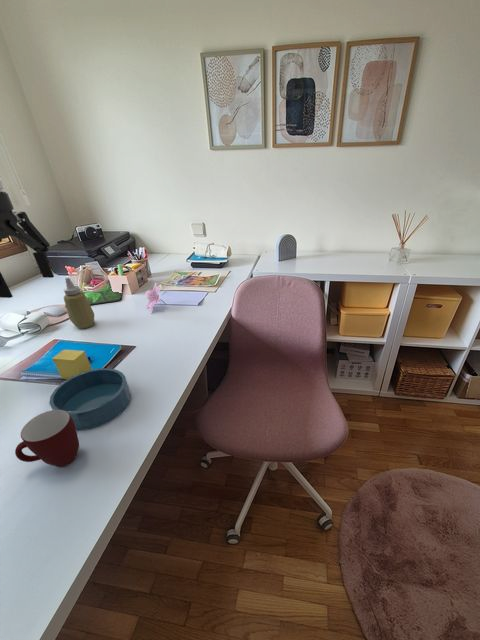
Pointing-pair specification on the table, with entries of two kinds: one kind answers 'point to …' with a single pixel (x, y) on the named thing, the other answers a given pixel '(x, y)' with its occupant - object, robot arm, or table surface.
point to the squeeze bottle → (78, 306)
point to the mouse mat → (102, 296)
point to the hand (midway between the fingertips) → (29, 286)
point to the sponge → (71, 363)
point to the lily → (153, 297)
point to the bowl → (92, 397)
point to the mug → (50, 439)
